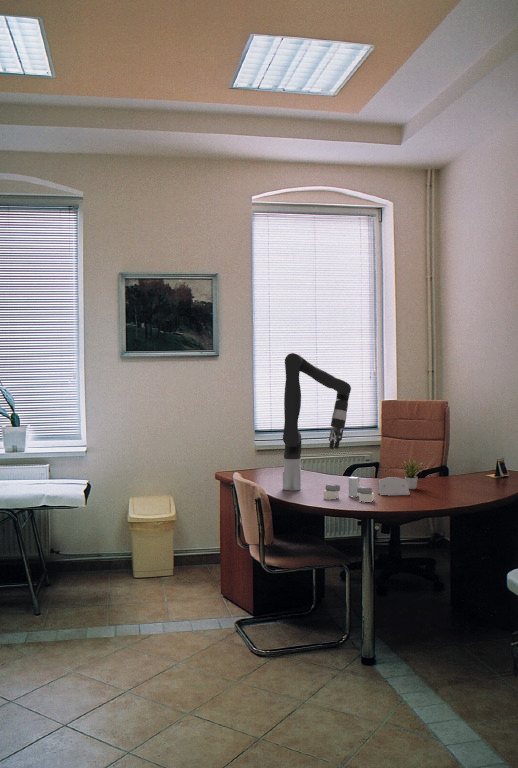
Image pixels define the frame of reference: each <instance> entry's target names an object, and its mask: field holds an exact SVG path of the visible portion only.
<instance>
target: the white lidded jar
mask: <svg viewBox="0 0 518 768" xmlns="http://www.w3.org/2000/svg"><path fill="white" fill-rule="evenodd" d="M324 488H325V489H324V490H323V500H331V499H335V500H337V499H338V498H339V492H340V491H341V485H339V484H325V487H324ZM336 498H337V499H336Z"/></svg>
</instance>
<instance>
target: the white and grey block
mask: <svg viewBox="0 0 518 768" xmlns="http://www.w3.org/2000/svg"><path fill="white" fill-rule="evenodd" d="M357 492H358V493H359V497H358V500H359V501H365V502H372V501H373V500H374V501H375V492H373V488H372V487H366V486H359V487H358V488H357ZM374 501H373V502H374ZM365 502H364V503H365ZM373 502H372V503H373Z"/></svg>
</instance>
